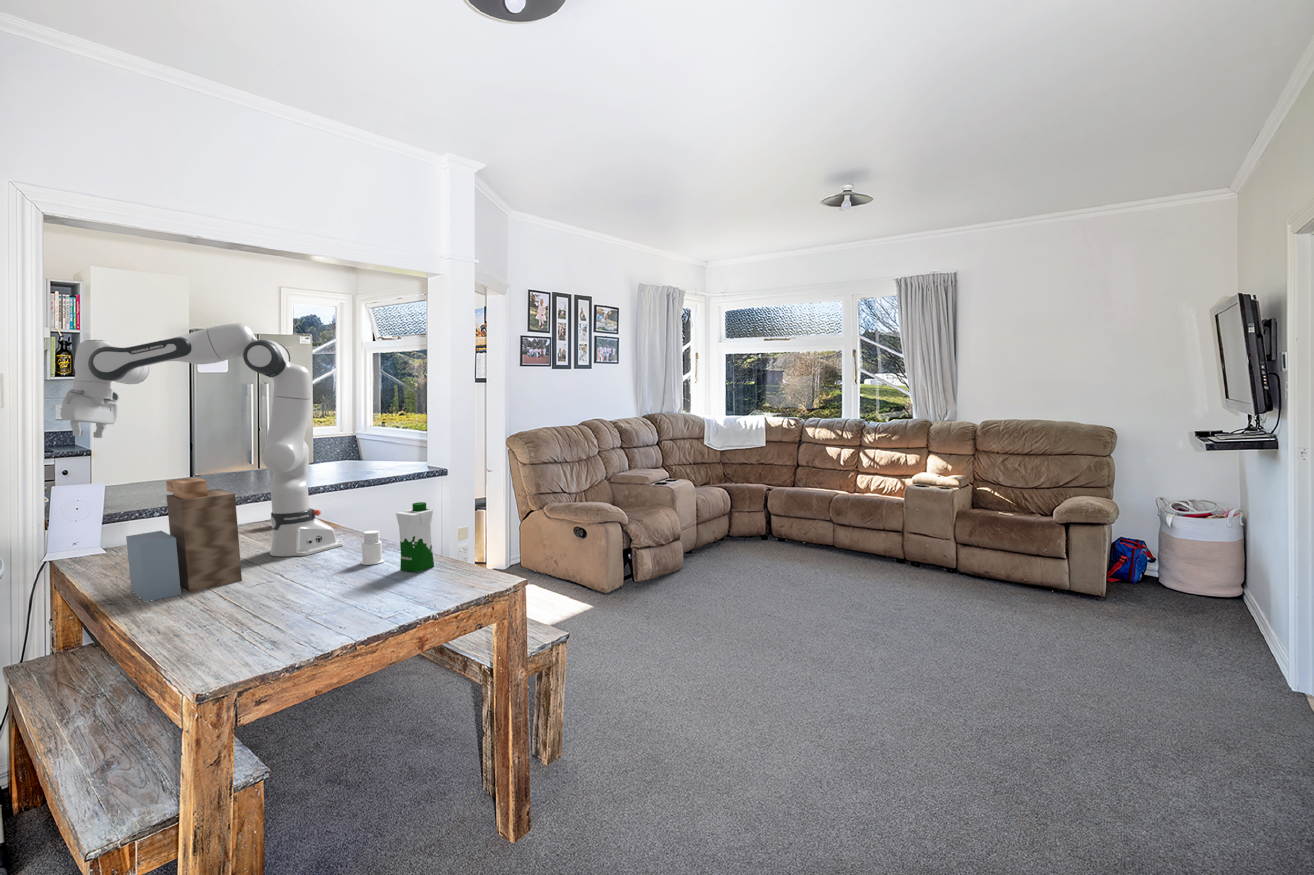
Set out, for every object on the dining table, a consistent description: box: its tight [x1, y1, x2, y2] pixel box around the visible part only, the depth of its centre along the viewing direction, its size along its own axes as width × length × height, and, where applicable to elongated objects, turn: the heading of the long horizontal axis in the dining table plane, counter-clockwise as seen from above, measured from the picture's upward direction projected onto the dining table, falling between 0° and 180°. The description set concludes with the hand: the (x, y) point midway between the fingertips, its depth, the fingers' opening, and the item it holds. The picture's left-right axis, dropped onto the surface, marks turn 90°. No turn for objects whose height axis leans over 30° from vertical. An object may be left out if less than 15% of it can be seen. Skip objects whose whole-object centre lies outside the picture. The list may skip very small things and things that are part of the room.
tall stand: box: [166, 488, 243, 593], centre depth 190 cm, size 13×14×26 cm
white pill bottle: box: [360, 530, 385, 566], centre depth 208 cm, size 8×7×10 cm
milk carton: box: [395, 501, 435, 573], centre depth 200 cm, size 9×9×20 cm
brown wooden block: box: [165, 476, 208, 499], centre depth 190 cm, size 6×21×4 cm, turn 50°
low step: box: [125, 530, 182, 603], centre depth 181 cm, size 8×14×16 cm, turn 50°
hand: (87, 437), depth 200 cm, fingers open, 8 cm apart
